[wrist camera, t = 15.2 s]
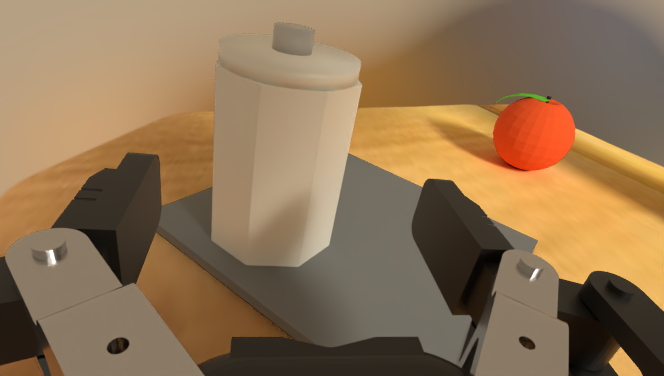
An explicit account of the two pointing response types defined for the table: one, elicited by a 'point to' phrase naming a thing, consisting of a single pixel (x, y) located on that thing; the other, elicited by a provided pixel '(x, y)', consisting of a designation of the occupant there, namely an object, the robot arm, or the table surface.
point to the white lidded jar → (280, 143)
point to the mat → (341, 268)
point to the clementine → (534, 132)
